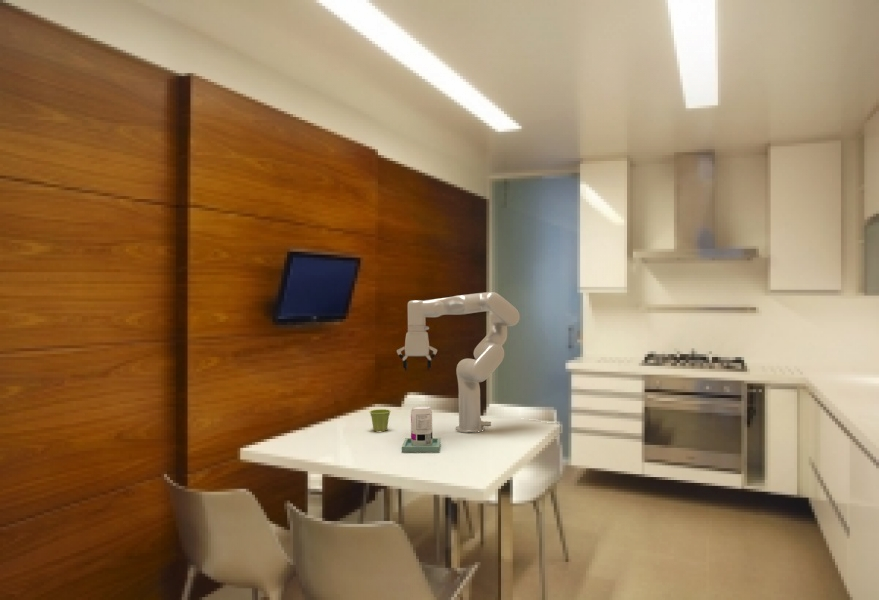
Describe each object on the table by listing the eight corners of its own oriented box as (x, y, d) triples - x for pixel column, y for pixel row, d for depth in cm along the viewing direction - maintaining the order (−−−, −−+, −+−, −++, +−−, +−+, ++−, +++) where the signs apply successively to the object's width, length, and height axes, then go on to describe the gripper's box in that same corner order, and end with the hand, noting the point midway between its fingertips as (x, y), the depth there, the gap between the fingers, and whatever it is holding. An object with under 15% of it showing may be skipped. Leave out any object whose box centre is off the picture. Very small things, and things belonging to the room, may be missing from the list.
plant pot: (389, 432, 237) (389, 413, 237) (368, 433, 237) (368, 413, 237) (391, 428, 246) (391, 409, 246) (371, 428, 246) (371, 409, 246)
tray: (440, 443, 216) (440, 437, 216) (438, 452, 202) (438, 446, 202) (405, 443, 217) (405, 438, 217) (401, 452, 203) (401, 446, 203)
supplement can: (407, 447, 208) (406, 408, 208) (418, 442, 215) (417, 405, 215) (425, 449, 204) (425, 410, 204) (436, 445, 211) (435, 406, 212)
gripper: (437, 328, 233) (438, 368, 233) (397, 329, 234) (398, 368, 233) (436, 329, 225) (437, 370, 225) (395, 329, 226) (395, 370, 226)
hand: (417, 369), depth 229 cm, fingers open, 9 cm apart
